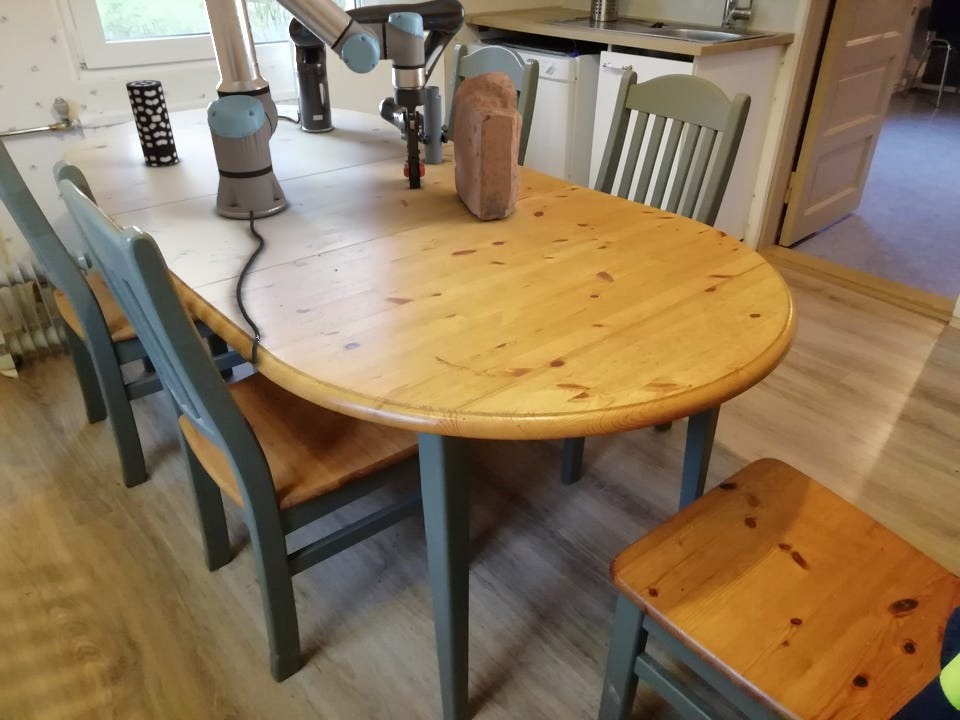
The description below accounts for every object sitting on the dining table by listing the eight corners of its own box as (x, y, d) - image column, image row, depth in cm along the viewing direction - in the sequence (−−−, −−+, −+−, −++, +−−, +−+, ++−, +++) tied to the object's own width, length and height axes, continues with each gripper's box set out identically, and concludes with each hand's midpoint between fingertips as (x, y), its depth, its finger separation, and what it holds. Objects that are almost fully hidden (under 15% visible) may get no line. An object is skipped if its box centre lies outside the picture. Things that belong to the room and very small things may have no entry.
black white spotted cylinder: (184, 157, 190) (167, 80, 179) (169, 166, 183) (151, 87, 172) (155, 156, 190) (136, 79, 179) (139, 165, 183) (119, 86, 172)
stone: (529, 217, 153) (533, 83, 139) (481, 223, 150) (480, 86, 136) (496, 190, 171) (497, 69, 157) (453, 195, 168) (450, 71, 154)
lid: (401, 173, 173) (400, 163, 172) (421, 170, 175) (420, 161, 174) (407, 179, 169) (406, 169, 168) (427, 176, 171) (427, 167, 170)
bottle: (445, 161, 190) (444, 87, 180) (434, 165, 187) (432, 90, 177) (432, 157, 193) (430, 84, 182) (421, 161, 189) (418, 87, 179)
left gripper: (427, 94, 154) (431, 195, 166) (423, 78, 169) (427, 172, 181) (394, 95, 153) (400, 196, 165) (392, 79, 168) (398, 173, 181)
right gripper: (390, 114, 193) (410, 129, 180) (437, 110, 198) (461, 123, 185) (391, 141, 197) (412, 157, 184) (438, 136, 202) (461, 151, 189)
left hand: (414, 183), depth 173 cm, fingers closed on lid, 5 cm apart
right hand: (436, 140), depth 184 cm, fingers closed on bottle, 5 cm apart
